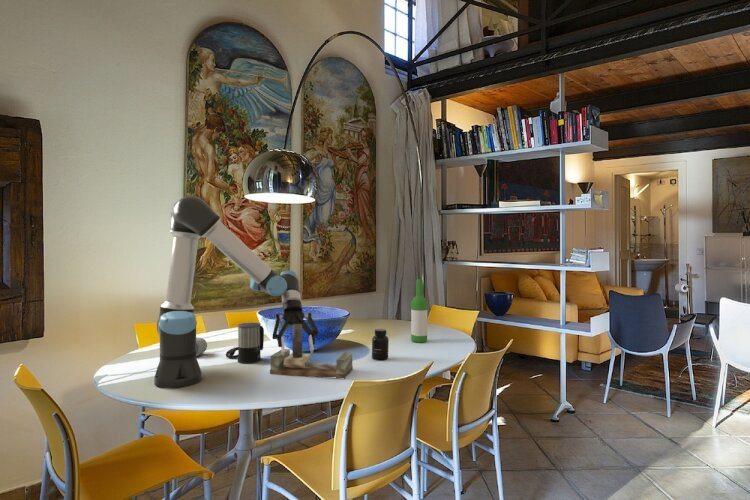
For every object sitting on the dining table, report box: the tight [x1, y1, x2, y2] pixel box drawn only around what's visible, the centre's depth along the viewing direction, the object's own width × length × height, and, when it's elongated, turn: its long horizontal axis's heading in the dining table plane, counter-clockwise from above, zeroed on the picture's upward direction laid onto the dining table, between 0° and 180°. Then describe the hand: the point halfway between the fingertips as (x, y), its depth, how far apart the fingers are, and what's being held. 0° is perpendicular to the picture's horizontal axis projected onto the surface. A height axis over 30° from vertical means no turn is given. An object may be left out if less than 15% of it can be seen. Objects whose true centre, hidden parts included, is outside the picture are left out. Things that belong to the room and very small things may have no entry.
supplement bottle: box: [371, 328, 390, 361], centre depth 192 cm, size 7×7×12 cm
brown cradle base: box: [269, 348, 354, 379], centre depth 173 cm, size 28×12×6 cm, turn 78°
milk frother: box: [225, 321, 265, 364], centre depth 190 cm, size 14×16×15 cm
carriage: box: [284, 324, 311, 368], centre depth 174 cm, size 7×9×16 cm
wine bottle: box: [410, 278, 428, 344], centre depth 224 cm, size 8×8×30 cm
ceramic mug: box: [196, 337, 208, 357], centre depth 196 cm, size 11×8×8 cm
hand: (298, 352), depth 171 cm, fingers open, 10 cm apart
